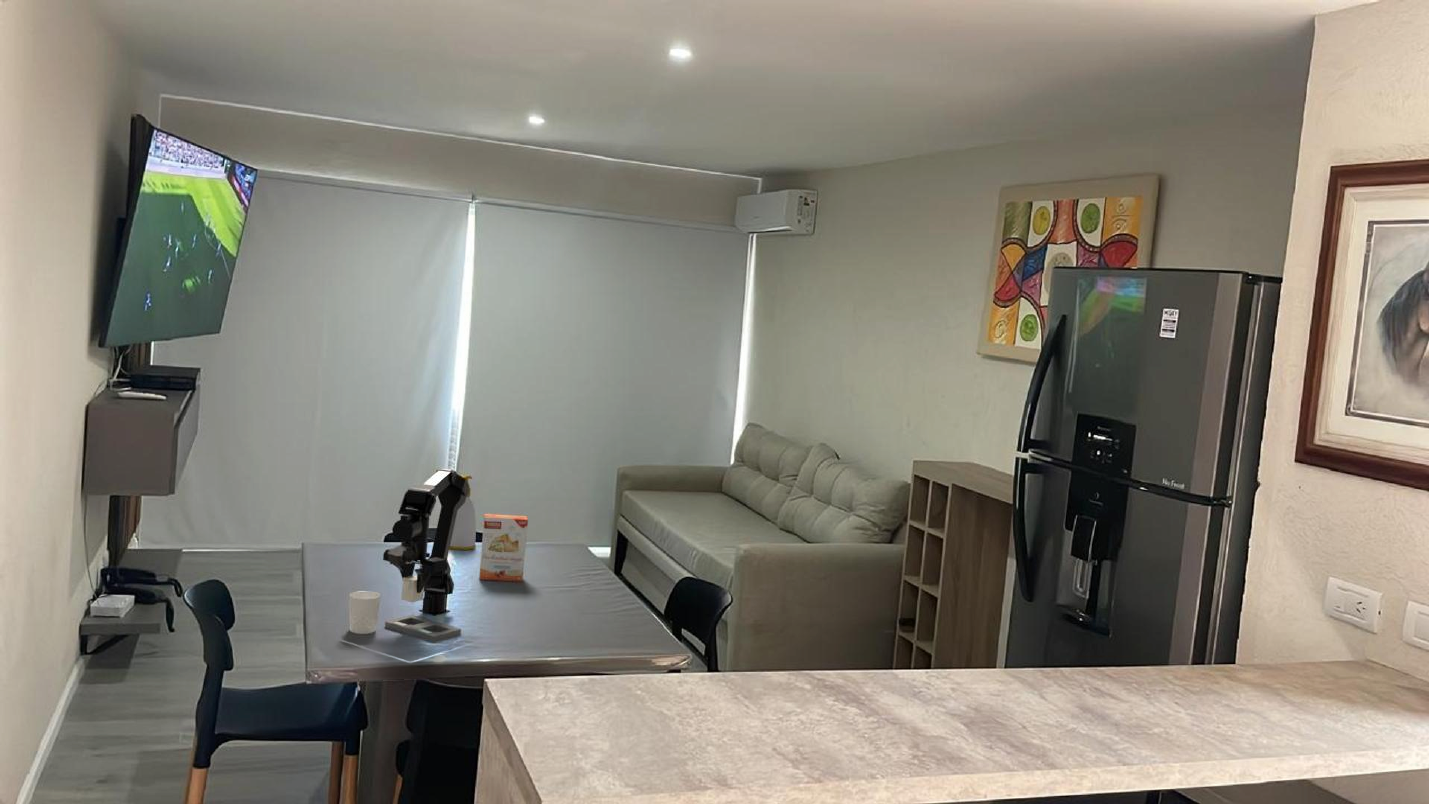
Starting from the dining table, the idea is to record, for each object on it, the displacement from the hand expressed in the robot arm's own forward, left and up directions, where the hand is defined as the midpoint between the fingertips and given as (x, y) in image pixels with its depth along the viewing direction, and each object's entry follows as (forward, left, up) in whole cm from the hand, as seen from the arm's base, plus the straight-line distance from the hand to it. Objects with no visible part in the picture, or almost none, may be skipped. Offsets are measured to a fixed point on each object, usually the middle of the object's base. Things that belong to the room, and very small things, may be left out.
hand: (412, 591), depth 307 cm
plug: (0, 0, -2) cm, 2 cm away
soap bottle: (-83, -59, -11) cm, 102 cm away
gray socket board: (0, +4, -11) cm, 11 cm away
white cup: (+11, -7, -11) cm, 17 cm away
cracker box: (-60, -20, -11) cm, 64 cm away
